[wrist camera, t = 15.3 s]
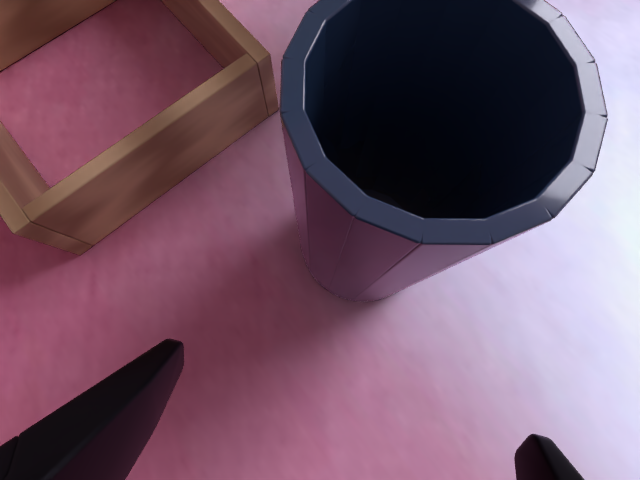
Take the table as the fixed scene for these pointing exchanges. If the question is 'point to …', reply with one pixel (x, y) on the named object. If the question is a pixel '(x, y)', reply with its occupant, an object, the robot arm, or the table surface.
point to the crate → (143, 143)
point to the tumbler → (431, 133)
